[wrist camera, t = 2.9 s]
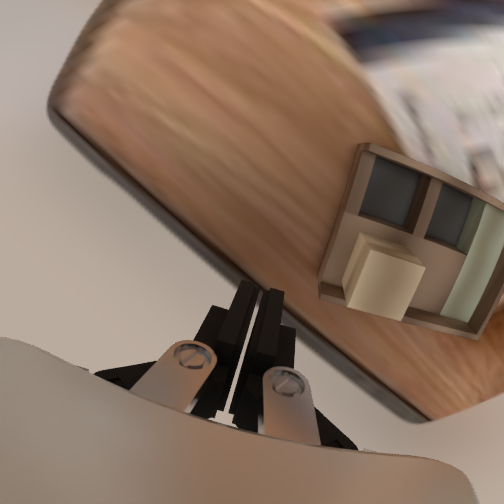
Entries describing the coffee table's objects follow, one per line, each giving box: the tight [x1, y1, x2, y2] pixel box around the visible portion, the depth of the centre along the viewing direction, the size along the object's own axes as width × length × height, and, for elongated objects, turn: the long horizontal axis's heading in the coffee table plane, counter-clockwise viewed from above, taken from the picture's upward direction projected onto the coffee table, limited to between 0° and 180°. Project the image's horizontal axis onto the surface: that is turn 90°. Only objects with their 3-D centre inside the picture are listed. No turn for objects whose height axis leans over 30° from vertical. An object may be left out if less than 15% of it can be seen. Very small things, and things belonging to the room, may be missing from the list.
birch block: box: [342, 232, 426, 321], centre depth 20 cm, size 4×4×4 cm
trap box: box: [318, 143, 504, 341], centre depth 21 cm, size 15×11×4 cm
